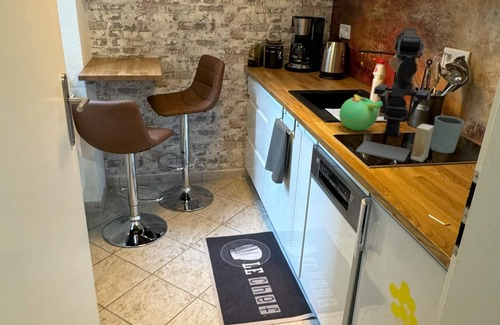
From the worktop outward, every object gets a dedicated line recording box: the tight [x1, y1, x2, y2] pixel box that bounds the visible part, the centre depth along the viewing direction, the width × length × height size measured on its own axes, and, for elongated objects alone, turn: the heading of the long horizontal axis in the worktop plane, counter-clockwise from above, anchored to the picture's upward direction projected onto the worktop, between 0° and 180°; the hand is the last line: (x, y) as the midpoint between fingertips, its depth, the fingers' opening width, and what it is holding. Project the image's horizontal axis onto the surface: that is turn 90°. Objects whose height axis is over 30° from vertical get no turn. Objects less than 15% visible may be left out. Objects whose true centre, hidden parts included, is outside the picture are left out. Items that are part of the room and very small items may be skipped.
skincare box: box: [410, 123, 434, 163], centre depth 145 cm, size 6×4×12 cm
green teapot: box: [338, 94, 383, 132], centre depth 174 cm, size 18×17×15 cm
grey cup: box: [430, 115, 465, 154], centre depth 154 cm, size 10×10×12 cm
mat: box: [355, 140, 412, 162], centre depth 153 cm, size 13×18×1 cm
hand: (397, 115), depth 151 cm, fingers open, 9 cm apart
